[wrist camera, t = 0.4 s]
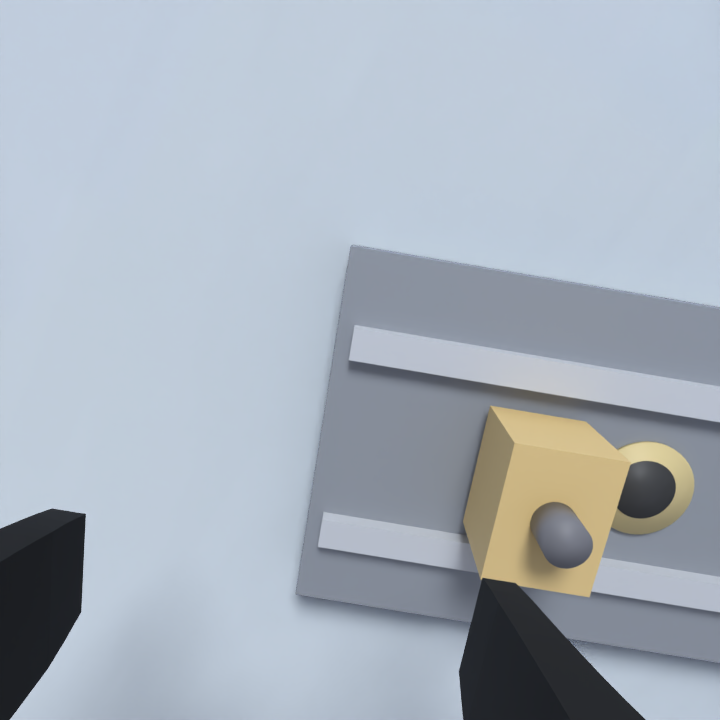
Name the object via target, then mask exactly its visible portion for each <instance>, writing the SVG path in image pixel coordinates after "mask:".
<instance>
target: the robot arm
mask: <svg viewBox="0 0 720 720" xmlns="http://www.w3.org/2000/svg"><path fill="white" fill-rule="evenodd" d="M85 517H86V514H82V513H76V512H69V511H63V510H57V509H50V510H47V511H44V512H41V513H38V514H35V515H33V516H30V517H28V518H25V519H23V520H20V521H18V522H15V523H13V524H11V525H8V526H6V527H3V528H1V529H0V720H10V718H11V717H12V716H13V715H14V713H15V712H16V711H17V709H18V708H19V707H20V705H21V704H22V703H23V701H24V700H25V698H26V697H27V696H28V694H29V693H30V692H31V690H32V689H33V688H34V686H35V685H36V684H37V682H38V681H39V680H40V678H41V677H42V676H43V674H44V673H45V672H46V670H47V669H48V667H49V666H50V664H51V662H52V661H53V659H54V658H55V656H56V654H57V653H58V651H59V649H60V648H61V646H62V644H63V643H64V641H65V639H66V638H67V636H68V634H69V632H70V631H71V629H72V627H73V625H74V623H75V622H76V620H77V618H78V616H79V615H80V613H81V603H82V582H83V560H84V539H85ZM459 677H460V688H461V700H462V710H463V720H645V719H644V718H643V717H642V716H641V715H640V714H639V713H638V712H637V711H636V710H635V709H634V708H633V707H632V706H631V705H630V704H629V703H628V702H627V701H626V700H625V699H624V698H623V697H622V696H621V695H620V694H619V693H618V692H617V691H616V690H615V689H614V688H613V687H612V686H611V685H610V684H609V683H608V682H607V681H606V680H605V679H604V678H603V677H602V676H601V675H600V674H599V673H598V672H597V670H596V669H595V668H594V667H593V666H592V665H591V664H590V663H589V662H588V661H587V660H586V659H585V658H584V657H583V656H582V655H581V653H580V652H579V651H578V650H577V649H576V648H575V647H574V646H573V645H572V644H571V643H570V641H569V640H568V639H567V638H566V637H565V636H564V635H563V634H562V633H561V632H560V630H559V629H558V628H557V627H556V626H555V625H554V624H553V623H552V622H551V620H550V619H549V618H548V617H547V616H546V615H545V614H544V613H543V612H542V610H541V609H540V608H539V607H538V606H537V605H536V604H535V603H534V602H533V600H532V599H531V598H530V597H529V596H528V595H527V594H526V593H525V592H524V591H523V590H522V589H521V588H520V587H519V586H518V585H517V584H516V583H513V582H506V581H500V580H494V579H488V578H482V581H481V585H480V589H479V593H478V597H477V601H476V605H475V609H474V613H473V617H472V621H471V625H470V629H469V634H468V638H467V642H466V646H465V650H464V654H463V658H462V662H461V666H460V670H459Z"/></svg>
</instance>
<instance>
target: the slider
mask: <svg viewBox="0 0 720 720" xmlns="http://www.w3.org/2000/svg"><path fill="white" fill-rule="evenodd" d="M630 464H631V462H630V461H629V460H628V459H627V458H626V457H625V456H623V455H622V454H621V453H620V452H619V451H618V450H617V449H616V448H615V447H614V446H612V445H611V444H610V443H609V442H608V441H607V440H606V439H605V438H604V437H602V436H601V435H600V434H599V433H598V432H597V431H596V430H595V429H594V428H593V427H591V426H590V425H589V424H588V423H587V422H586V421H580V420H574V419H568V418H562V417H556V416H550V415H544V414H538V413H532V412H526V411H520V410H514V409H508V408H502V407H496V406H490V408H489V412H488V417H487V421H486V425H485V429H484V434H483V438H482V442H481V446H480V451H479V455H478V459H477V463H476V468H475V472H474V476H473V480H472V485H471V489H470V493H469V497H468V502H467V506H466V510H465V514H464V519H463V523H464V527H465V530H466V533H467V537H468V540H469V543H470V547H471V550H472V553H473V557H474V560H475V563H476V567H477V570H478V573H479V576H480V580H482V578H488V579H494V580H500V581H506V582H513V583H516V584H517V585H518V586H523V587H529V588H535V589H541V590H547V591H554V592H560V593H566V594H572V595H578V596H584V597H590V594H591V590H592V587H593V584H594V581H595V578H596V574H597V571H598V568H599V565H600V561H601V558H602V555H603V552H604V548H605V545H606V542H607V539H608V535H609V532H610V529H611V526H612V522H613V519H614V516H615V513H616V509H617V506H618V503H619V500H620V496H621V493H622V490H623V487H624V483H625V480H626V477H627V474H628V470H629V467H630Z"/></svg>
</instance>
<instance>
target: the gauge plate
mask: <svg viewBox="0 0 720 720" xmlns="http://www.w3.org/2000/svg"><path fill="white" fill-rule="evenodd" d="M490 406H496V407H502V408H508V409H514V410H520V411H526V412H532V413H538V414H544V415H550V416H556V417H562V418H568V419H574V420H580V421H586V422H587V423H588V424H589V425H590V426H591V427H593V428H594V429H595V430H596V431H597V432H598V433H599V434H600V435H601V436H602V437H604V438H605V439H606V440H607V441H608V442H609V443H610V444H611V445H612V446H614V447H615V448H616V449H617V450H618V451H619V452H620V453H621V454H622V455H623V456H625V457H626V458H627V459H628V460H629V461H630V462H631V464H630V467H629V470H628V474H627V477H626V480H625V483H624V487H623V490H622V493H621V496H620V500H619V503H618V506H617V509H616V513H615V516H614V519H613V522H612V526H611V529H610V532H609V535H608V539H607V542H606V545H605V548H604V552H603V555H602V558H601V561H600V565H599V568H598V571H597V574H596V578H595V581H594V584H593V587H592V590H591V594H590V597H584V596H578V595H572V594H566V593H560V592H554V591H547V590H541V589H535V588H529V587H523V586H519V587H520V588H521V589H522V590H523V591H524V592H525V593H526V594H527V595H528V596H529V597H530V598H531V599H532V600H533V602H534V603H535V604H536V605H537V606H538V607H539V608H540V609H541V610H542V612H543V613H544V614H545V615H546V616H547V617H548V618H549V619H550V620H551V622H552V623H553V624H554V625H555V626H556V627H557V628H558V629H559V630H560V632H561V633H562V634H563V635H564V636H565V637H566V638H568V639H574V640H580V641H587V642H593V643H599V644H605V645H611V646H618V647H624V648H630V649H636V650H642V651H648V652H655V653H661V654H667V655H673V656H679V657H685V658H692V659H698V660H704V661H710V662H716V663H720V307H714V306H708V305H702V304H696V303H691V302H685V301H679V300H673V299H667V298H661V297H655V296H650V295H644V294H638V293H632V292H626V291H620V290H614V289H609V288H603V287H597V286H591V285H585V284H579V283H573V282H567V281H562V280H556V279H550V278H544V277H538V276H532V275H526V274H521V273H515V272H509V271H503V270H497V269H491V268H485V267H480V266H474V265H468V264H462V263H456V262H450V261H444V260H439V259H433V258H427V257H421V256H415V255H409V254H403V253H397V252H392V251H386V250H380V249H374V248H368V247H362V246H356V245H352V246H351V247H350V253H349V260H348V266H347V272H346V279H345V285H344V291H343V297H342V304H341V310H340V316H339V323H338V329H337V335H336V342H335V348H334V354H333V361H332V367H331V373H330V379H329V386H328V392H327V398H326V405H325V411H324V417H323V424H322V430H321V436H320V442H319V449H318V455H317V461H316V468H315V474H314V480H313V487H312V493H311V499H310V506H309V512H308V518H307V524H306V531H305V537H304V543H303V550H302V556H301V562H300V569H299V575H298V581H297V587H296V595H302V596H309V597H315V598H321V599H327V600H333V601H340V602H346V603H352V604H358V605H364V606H370V607H377V608H383V609H389V610H395V611H401V612H408V613H414V614H420V615H426V616H432V617H438V618H445V619H451V620H457V621H463V622H469V623H471V621H472V617H473V613H474V609H475V605H476V601H477V597H478V593H479V589H480V585H481V581H482V580H480V576H479V573H478V570H477V567H476V563H475V560H474V557H473V553H472V550H471V547H470V543H469V540H468V537H467V533H466V530H465V527H464V523H463V519H464V514H465V510H466V506H467V502H468V497H469V493H470V489H471V485H472V480H473V476H474V472H475V468H476V463H477V459H478V455H479V451H480V446H481V442H482V438H483V434H484V429H485V425H486V421H487V417H488V412H489V408H490Z"/></svg>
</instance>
